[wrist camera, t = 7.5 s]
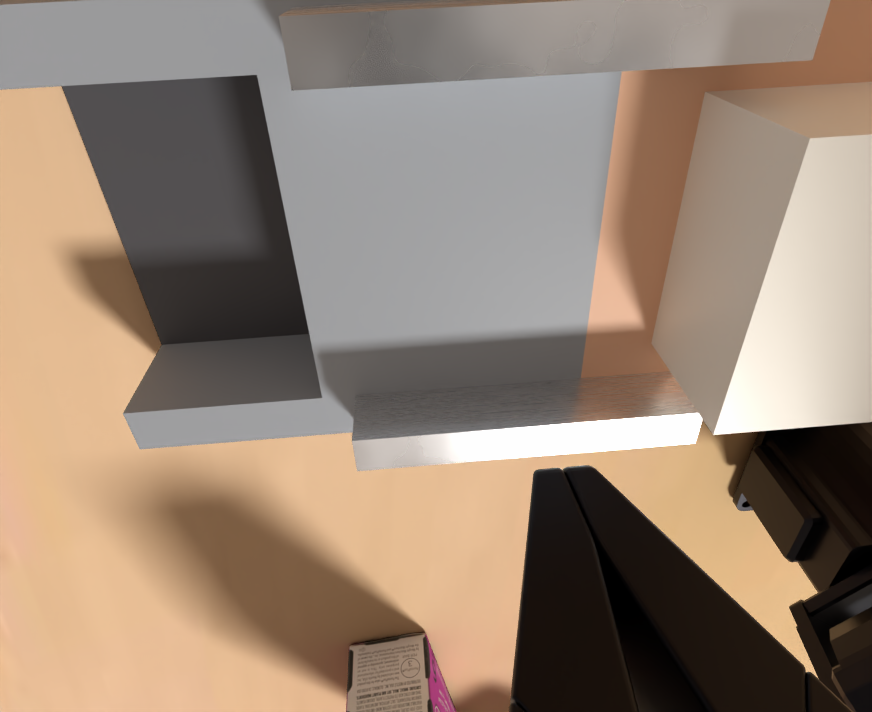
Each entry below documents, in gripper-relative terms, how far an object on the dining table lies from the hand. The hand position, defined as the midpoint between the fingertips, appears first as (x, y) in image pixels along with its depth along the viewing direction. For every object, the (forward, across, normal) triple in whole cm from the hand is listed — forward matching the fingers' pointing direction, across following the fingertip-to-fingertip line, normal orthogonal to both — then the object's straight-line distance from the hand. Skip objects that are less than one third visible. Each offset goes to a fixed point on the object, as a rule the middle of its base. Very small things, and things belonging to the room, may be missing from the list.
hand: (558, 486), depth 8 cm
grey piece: (+12, 0, 0) cm, 12 cm away
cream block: (+8, -9, 0) cm, 12 cm away
